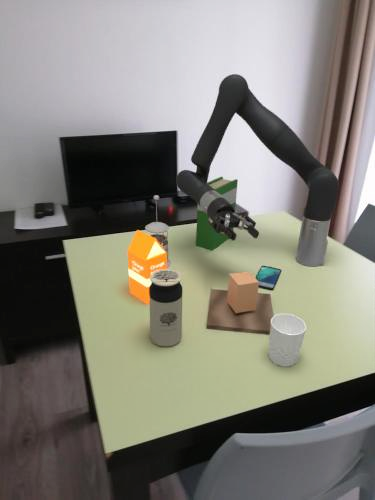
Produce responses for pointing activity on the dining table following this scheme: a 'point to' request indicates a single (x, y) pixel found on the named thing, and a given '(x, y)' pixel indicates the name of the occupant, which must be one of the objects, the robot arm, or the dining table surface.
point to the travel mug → (165, 307)
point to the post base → (239, 314)
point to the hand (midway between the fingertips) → (246, 236)
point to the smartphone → (268, 277)
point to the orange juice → (144, 263)
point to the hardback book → (205, 232)
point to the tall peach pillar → (242, 292)
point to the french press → (159, 228)
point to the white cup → (285, 339)
